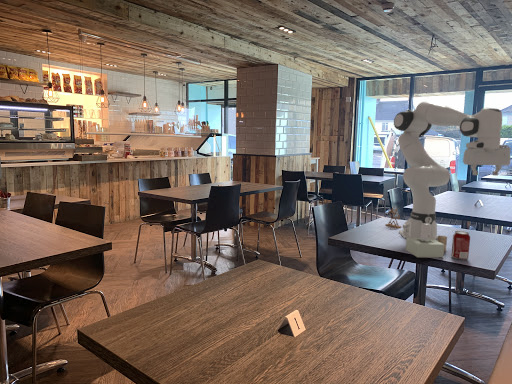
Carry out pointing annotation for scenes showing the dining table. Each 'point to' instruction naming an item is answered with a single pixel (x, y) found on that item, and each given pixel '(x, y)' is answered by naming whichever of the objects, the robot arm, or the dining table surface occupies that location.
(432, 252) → the hole block
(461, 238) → the soda can
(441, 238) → the short wooden pin
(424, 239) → the white tall square block
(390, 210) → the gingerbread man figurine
